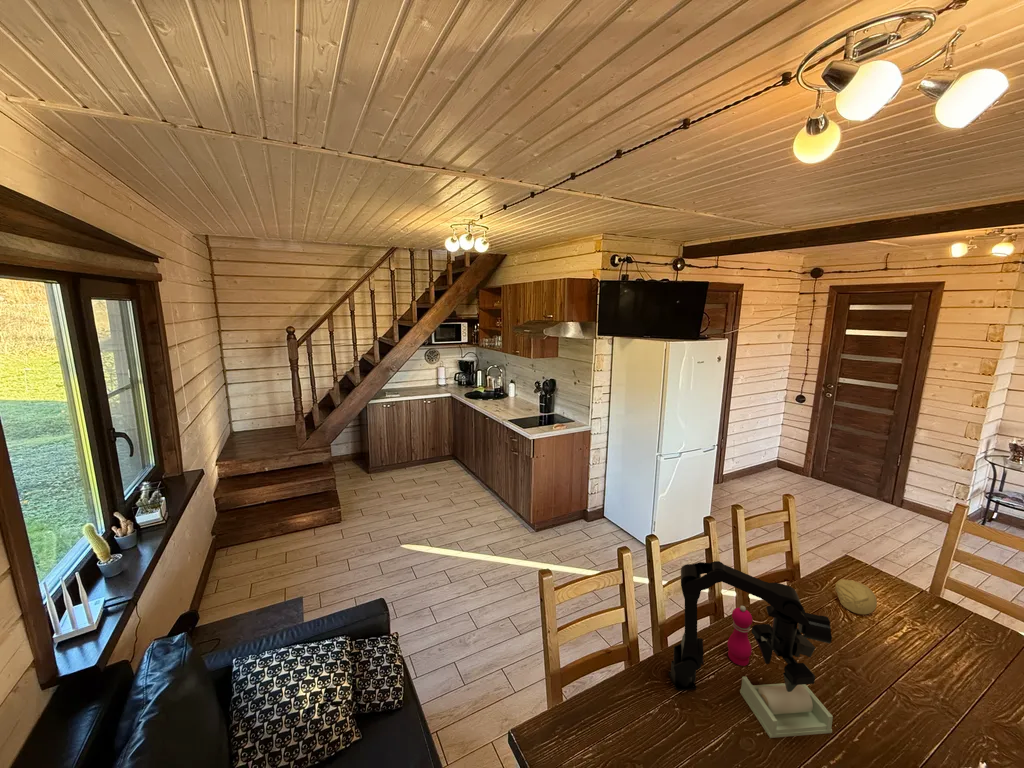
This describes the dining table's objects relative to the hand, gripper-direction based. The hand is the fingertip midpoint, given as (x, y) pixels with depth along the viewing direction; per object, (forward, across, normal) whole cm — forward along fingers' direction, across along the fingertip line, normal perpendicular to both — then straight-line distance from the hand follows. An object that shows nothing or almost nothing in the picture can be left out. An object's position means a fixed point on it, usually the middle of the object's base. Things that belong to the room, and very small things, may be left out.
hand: (777, 676), depth 121 cm
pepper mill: (+11, +18, 0) cm, 21 cm away
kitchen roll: (+7, -1, -2) cm, 7 cm away
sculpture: (+11, +37, -59) cm, 70 cm away
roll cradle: (+11, -1, -2) cm, 11 cm away
